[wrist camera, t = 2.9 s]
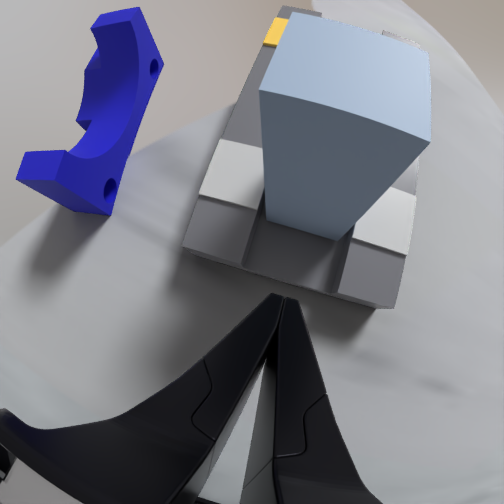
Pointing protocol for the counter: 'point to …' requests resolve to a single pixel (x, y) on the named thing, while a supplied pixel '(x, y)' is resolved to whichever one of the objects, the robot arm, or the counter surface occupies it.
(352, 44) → the tab
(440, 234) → the counter surface
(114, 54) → the cable clip
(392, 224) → the switch housing
